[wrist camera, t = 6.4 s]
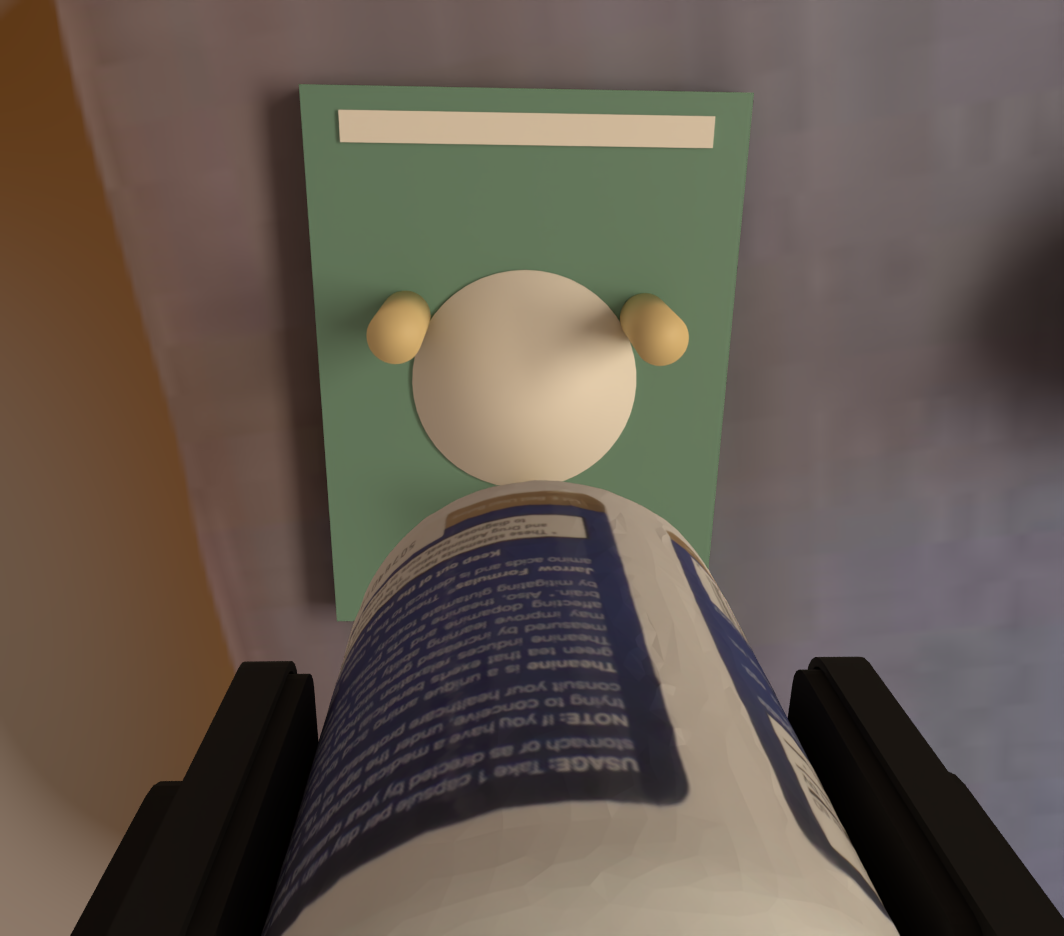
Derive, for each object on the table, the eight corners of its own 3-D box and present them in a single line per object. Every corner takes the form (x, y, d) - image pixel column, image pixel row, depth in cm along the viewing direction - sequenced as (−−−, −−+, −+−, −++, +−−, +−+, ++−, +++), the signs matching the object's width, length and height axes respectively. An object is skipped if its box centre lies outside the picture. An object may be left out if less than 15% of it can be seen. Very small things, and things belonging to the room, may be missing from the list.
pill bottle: (307, 726, 13) (-124, 2023, 4) (435, 411, 12) (204, 1385, 2) (628, 830, 14) (868, 2083, 5) (788, 551, 13) (1583, 1644, 3)
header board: (306, 86, 24) (270, 76, 20) (743, 94, 24) (788, 86, 20) (342, 605, 29) (318, 673, 26) (696, 604, 30) (725, 671, 26)
